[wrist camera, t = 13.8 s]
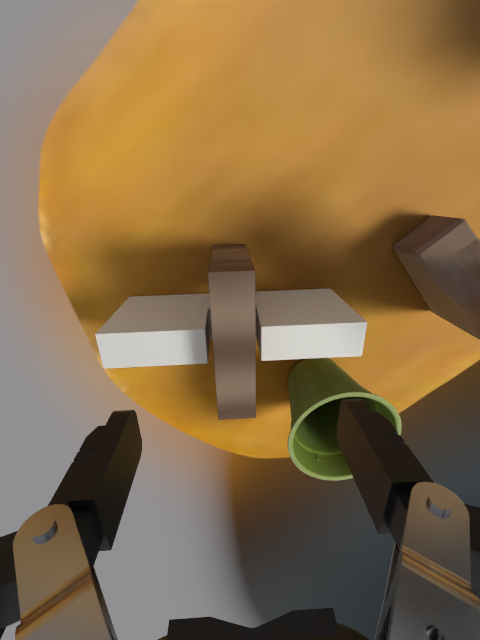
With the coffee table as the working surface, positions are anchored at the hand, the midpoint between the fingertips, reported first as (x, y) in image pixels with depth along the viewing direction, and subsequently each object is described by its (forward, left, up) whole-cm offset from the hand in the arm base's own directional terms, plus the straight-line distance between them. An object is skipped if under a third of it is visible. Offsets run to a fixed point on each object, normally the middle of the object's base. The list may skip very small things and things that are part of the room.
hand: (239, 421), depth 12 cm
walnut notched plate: (+4, 0, -25) cm, 25 cm away
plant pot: (+16, +11, -25) cm, 31 cm away
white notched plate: (+5, 0, -25) cm, 25 cm away
